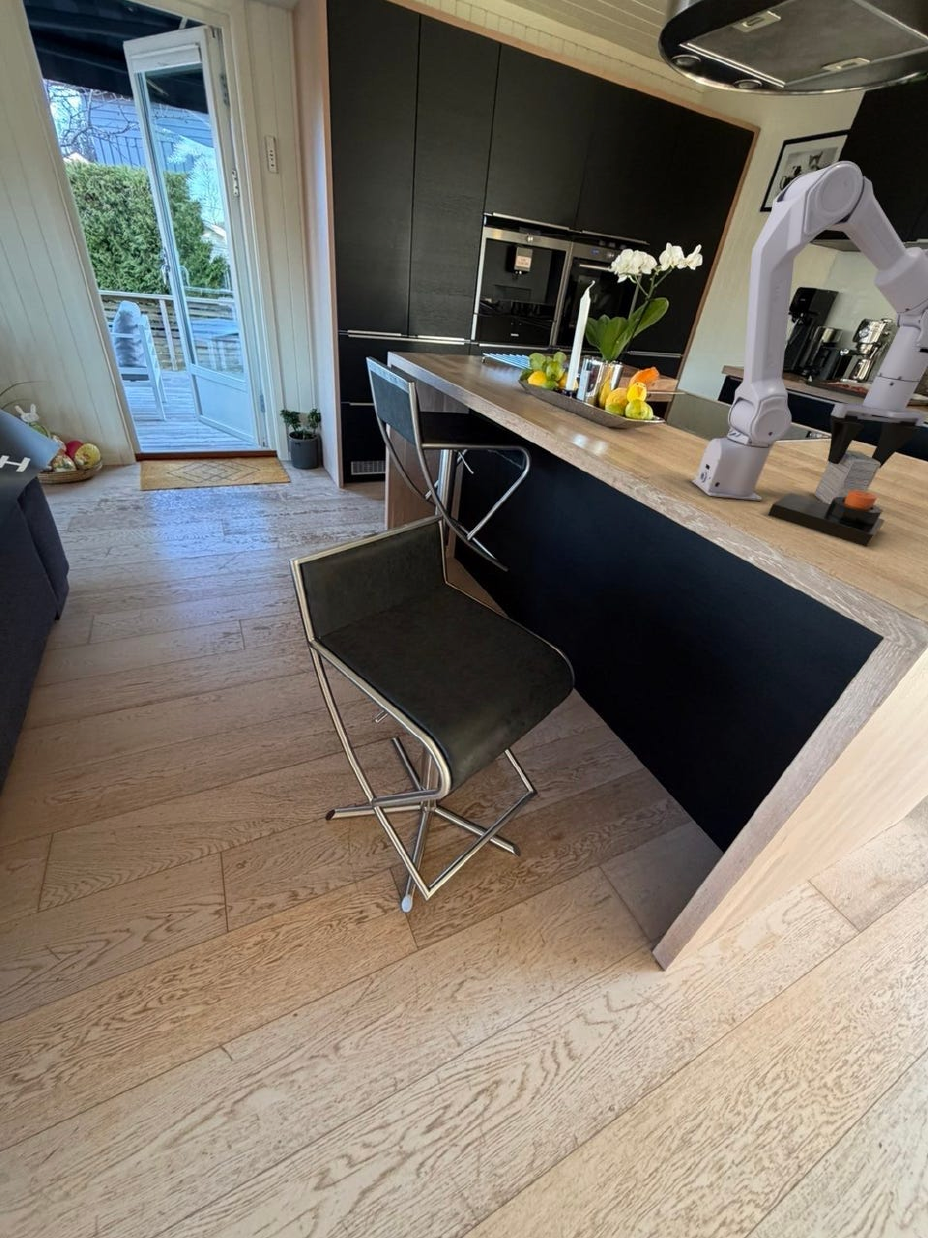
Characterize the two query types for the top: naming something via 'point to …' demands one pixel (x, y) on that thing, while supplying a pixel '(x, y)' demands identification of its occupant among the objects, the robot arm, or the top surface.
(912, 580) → the top surface
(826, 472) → the medicine box
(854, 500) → the button
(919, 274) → the robot arm
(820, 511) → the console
